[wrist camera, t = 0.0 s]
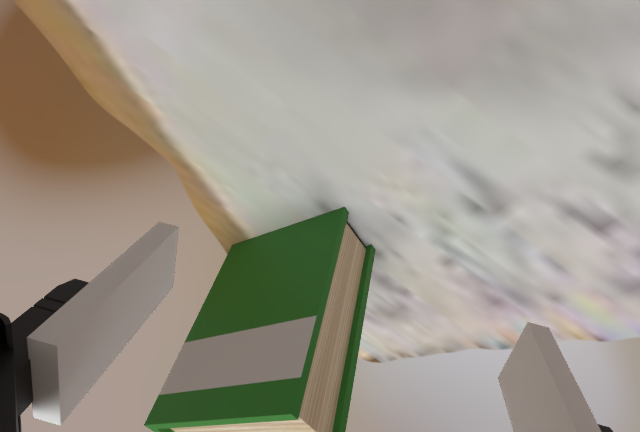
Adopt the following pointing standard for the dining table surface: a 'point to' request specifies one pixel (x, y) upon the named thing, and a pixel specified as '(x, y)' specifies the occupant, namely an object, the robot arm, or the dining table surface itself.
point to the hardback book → (274, 336)
